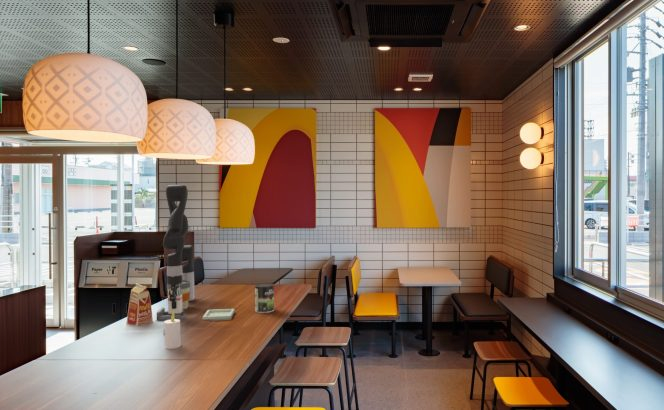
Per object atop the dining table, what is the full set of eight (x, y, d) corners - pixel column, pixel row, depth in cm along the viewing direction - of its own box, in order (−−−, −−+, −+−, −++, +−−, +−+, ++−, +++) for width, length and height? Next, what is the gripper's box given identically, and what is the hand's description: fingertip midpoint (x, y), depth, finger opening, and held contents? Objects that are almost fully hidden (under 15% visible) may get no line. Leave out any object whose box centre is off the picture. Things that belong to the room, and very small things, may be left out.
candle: (164, 344, 180) (163, 309, 180) (180, 342, 182) (179, 307, 182) (163, 349, 174) (163, 313, 174) (180, 347, 177) (180, 311, 176)
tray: (207, 313, 229) (207, 309, 229) (234, 312, 230) (234, 308, 230) (202, 321, 215) (202, 317, 215) (230, 319, 216) (230, 315, 216)
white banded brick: (170, 311, 222) (170, 294, 222) (182, 311, 222) (182, 293, 222) (168, 313, 218) (167, 296, 218) (180, 313, 218) (180, 295, 218)
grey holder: (161, 316, 225) (161, 307, 225) (187, 315, 226) (186, 306, 226) (155, 322, 214) (154, 312, 214) (181, 321, 215) (181, 311, 215)
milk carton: (126, 325, 210) (125, 284, 209) (142, 320, 218) (141, 281, 218) (138, 327, 206) (137, 285, 205) (154, 322, 214) (153, 282, 213)
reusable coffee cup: (194, 306, 244) (194, 280, 244) (185, 312, 232) (184, 284, 232) (173, 306, 246) (173, 280, 245) (162, 311, 233) (162, 284, 233)
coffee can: (278, 310, 233) (277, 284, 233) (264, 314, 225) (263, 287, 225) (265, 307, 240) (264, 282, 239) (251, 311, 231) (250, 285, 231)
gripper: (171, 272, 227) (171, 304, 227) (162, 277, 212) (163, 311, 213) (185, 271, 227) (186, 303, 228) (178, 276, 213) (179, 310, 213)
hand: (175, 307), depth 220 cm, fingers closed on white banded brick, 4 cm apart
